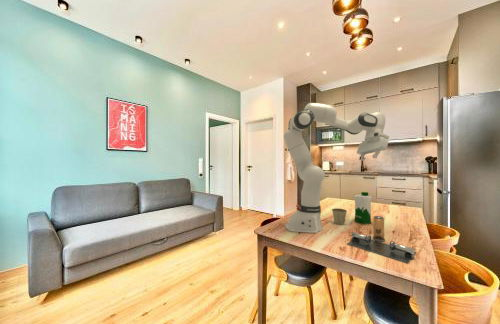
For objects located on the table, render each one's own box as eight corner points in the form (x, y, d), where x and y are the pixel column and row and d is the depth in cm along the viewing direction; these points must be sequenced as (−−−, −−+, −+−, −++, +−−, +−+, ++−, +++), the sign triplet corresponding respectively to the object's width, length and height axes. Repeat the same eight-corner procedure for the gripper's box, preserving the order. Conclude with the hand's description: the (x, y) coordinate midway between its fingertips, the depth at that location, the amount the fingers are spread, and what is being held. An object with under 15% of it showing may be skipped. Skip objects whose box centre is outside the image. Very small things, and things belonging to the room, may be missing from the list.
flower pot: (344, 221, 135) (344, 208, 135) (349, 225, 125) (349, 212, 125) (329, 220, 136) (329, 208, 136) (334, 225, 126) (334, 211, 126)
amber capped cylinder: (376, 242, 100) (376, 218, 100) (370, 237, 105) (370, 215, 105) (387, 242, 100) (387, 218, 100) (380, 237, 105) (380, 215, 105)
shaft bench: (346, 244, 98) (346, 234, 98) (357, 236, 107) (357, 227, 107) (409, 264, 79) (409, 252, 78) (417, 253, 87) (417, 242, 87)
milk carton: (373, 223, 129) (373, 193, 129) (363, 225, 126) (363, 194, 126) (361, 219, 137) (361, 191, 137) (352, 221, 134) (351, 192, 134)
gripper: (357, 140, 130) (352, 159, 128) (382, 131, 110) (377, 154, 108) (365, 143, 131) (360, 162, 128) (391, 135, 111) (387, 158, 108)
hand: (368, 159), depth 118 cm, fingers open, 8 cm apart
